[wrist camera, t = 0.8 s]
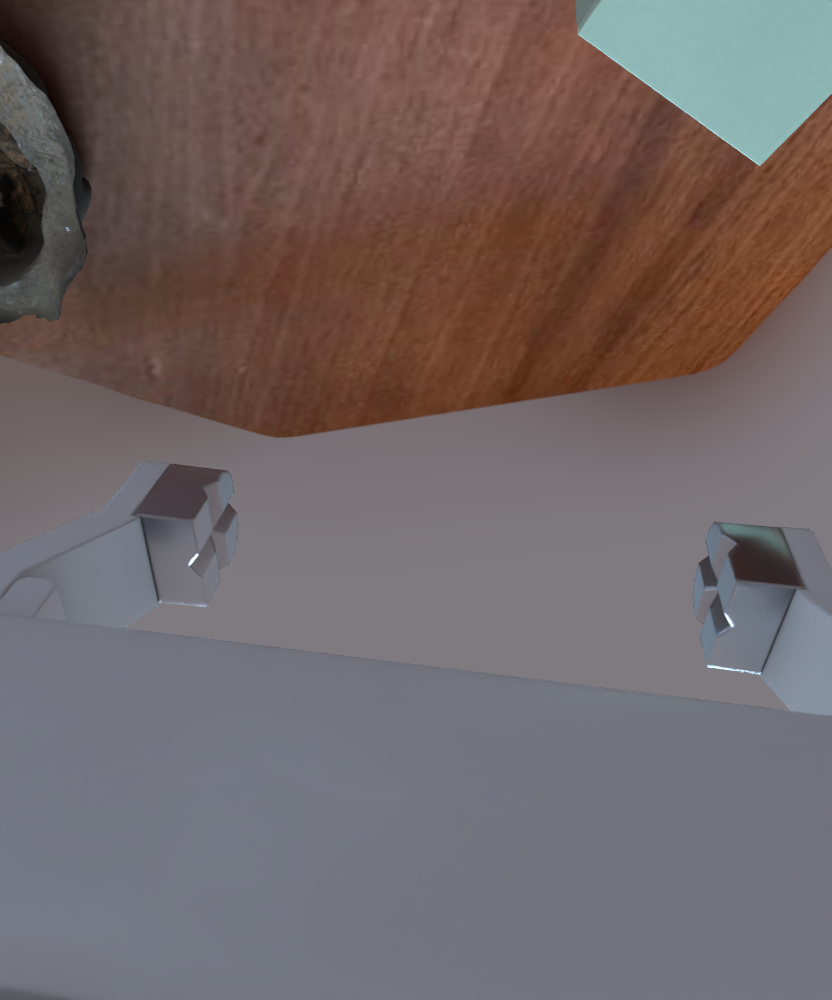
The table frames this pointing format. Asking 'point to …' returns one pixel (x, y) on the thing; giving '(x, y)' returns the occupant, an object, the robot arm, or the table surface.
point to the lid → (725, 60)
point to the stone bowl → (36, 197)
